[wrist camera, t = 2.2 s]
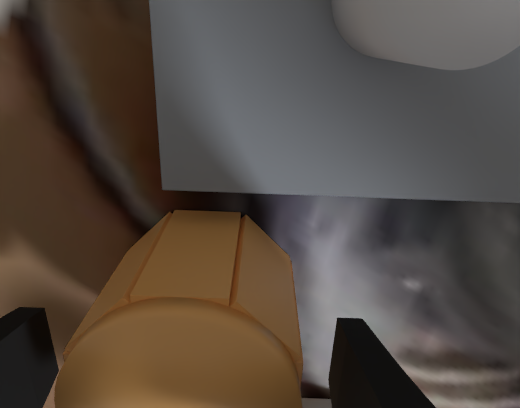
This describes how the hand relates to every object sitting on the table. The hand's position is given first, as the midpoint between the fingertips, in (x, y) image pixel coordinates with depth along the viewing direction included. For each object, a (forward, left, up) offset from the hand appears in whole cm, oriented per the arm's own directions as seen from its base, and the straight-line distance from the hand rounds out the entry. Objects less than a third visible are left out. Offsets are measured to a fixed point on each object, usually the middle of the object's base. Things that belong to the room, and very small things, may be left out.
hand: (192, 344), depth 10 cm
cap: (0, 0, -3) cm, 3 cm away
